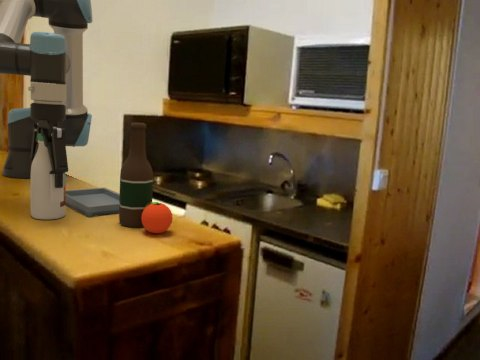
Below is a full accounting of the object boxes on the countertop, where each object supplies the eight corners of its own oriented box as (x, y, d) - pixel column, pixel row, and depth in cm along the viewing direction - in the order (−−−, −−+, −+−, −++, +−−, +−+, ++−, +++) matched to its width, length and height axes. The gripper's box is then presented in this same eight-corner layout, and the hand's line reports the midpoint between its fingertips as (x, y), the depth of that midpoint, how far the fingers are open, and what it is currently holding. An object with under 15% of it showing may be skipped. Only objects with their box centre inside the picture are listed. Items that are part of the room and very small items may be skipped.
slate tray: (57, 200, 124) (57, 191, 124) (104, 195, 134) (104, 187, 133) (87, 217, 110) (88, 207, 109) (138, 210, 119) (139, 201, 119)
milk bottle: (53, 222, 104) (53, 135, 100) (23, 218, 105) (22, 132, 102) (71, 214, 111) (72, 133, 108) (43, 210, 113) (43, 130, 109)
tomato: (131, 230, 102) (132, 200, 101) (155, 225, 107) (156, 196, 106) (154, 239, 97) (155, 207, 96) (178, 233, 102) (179, 203, 101)
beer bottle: (140, 217, 113) (143, 121, 109) (158, 225, 107) (162, 124, 103) (112, 221, 107) (114, 121, 103) (129, 230, 102) (132, 124, 98)
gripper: (15, 99, 109) (16, 188, 113) (49, 104, 93) (49, 208, 97) (47, 101, 114) (47, 186, 118) (85, 106, 98) (83, 205, 102)
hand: (48, 196), depth 107 cm, fingers open, 10 cm apart
